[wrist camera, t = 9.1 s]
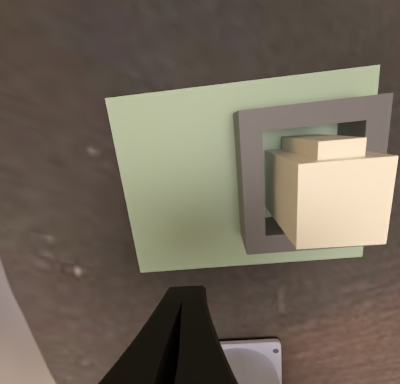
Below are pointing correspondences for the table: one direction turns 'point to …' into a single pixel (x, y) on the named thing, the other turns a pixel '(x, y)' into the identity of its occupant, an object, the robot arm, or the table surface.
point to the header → (230, 162)
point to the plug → (330, 190)
